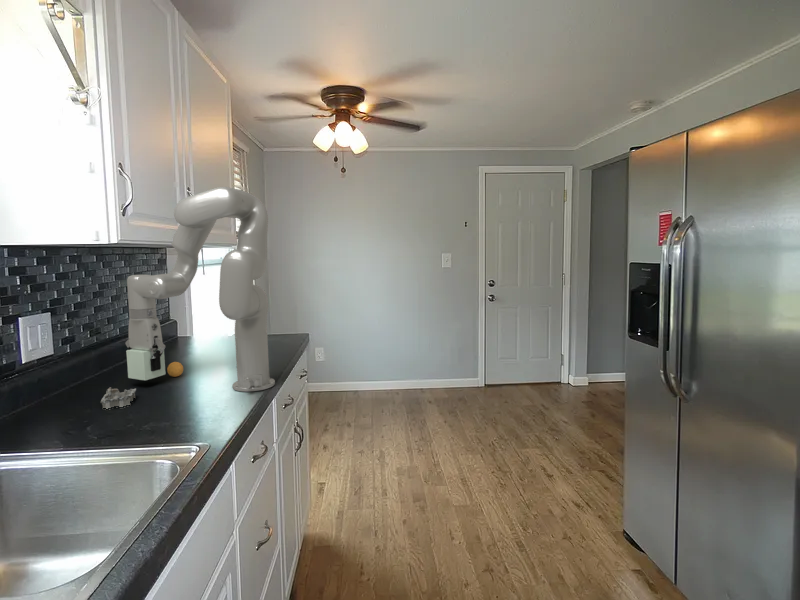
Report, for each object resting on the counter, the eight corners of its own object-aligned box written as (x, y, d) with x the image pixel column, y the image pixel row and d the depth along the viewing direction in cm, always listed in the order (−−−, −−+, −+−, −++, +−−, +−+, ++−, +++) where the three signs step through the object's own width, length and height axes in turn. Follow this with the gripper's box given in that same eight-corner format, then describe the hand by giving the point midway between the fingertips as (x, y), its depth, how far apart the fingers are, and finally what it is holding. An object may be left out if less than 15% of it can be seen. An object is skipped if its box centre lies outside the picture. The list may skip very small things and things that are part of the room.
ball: (182, 377, 164) (181, 363, 164) (166, 379, 163) (165, 364, 163) (185, 374, 169) (184, 359, 168) (169, 375, 168) (168, 360, 167)
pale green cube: (145, 380, 151) (143, 352, 150) (128, 377, 154) (126, 350, 153) (165, 374, 158) (163, 347, 157) (148, 372, 161) (147, 345, 160)
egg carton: (110, 400, 143) (109, 386, 142) (139, 397, 145) (138, 384, 144) (98, 411, 132) (96, 397, 132) (129, 408, 134) (127, 394, 134)
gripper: (173, 313, 154) (176, 368, 156) (134, 311, 161) (137, 363, 163) (152, 317, 147) (156, 374, 149) (112, 314, 154) (116, 369, 156)
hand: (146, 368), depth 156 cm, fingers closed on pale green cube, 7 cm apart
